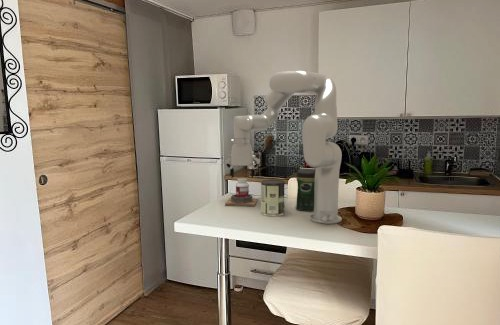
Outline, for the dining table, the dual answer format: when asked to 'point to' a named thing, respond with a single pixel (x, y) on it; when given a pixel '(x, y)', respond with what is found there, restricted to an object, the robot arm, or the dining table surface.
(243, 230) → the dining table surface
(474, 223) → the dining table surface
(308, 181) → the coffee jar
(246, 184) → the pill bottle
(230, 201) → the dish on wooden board
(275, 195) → the coffee can
